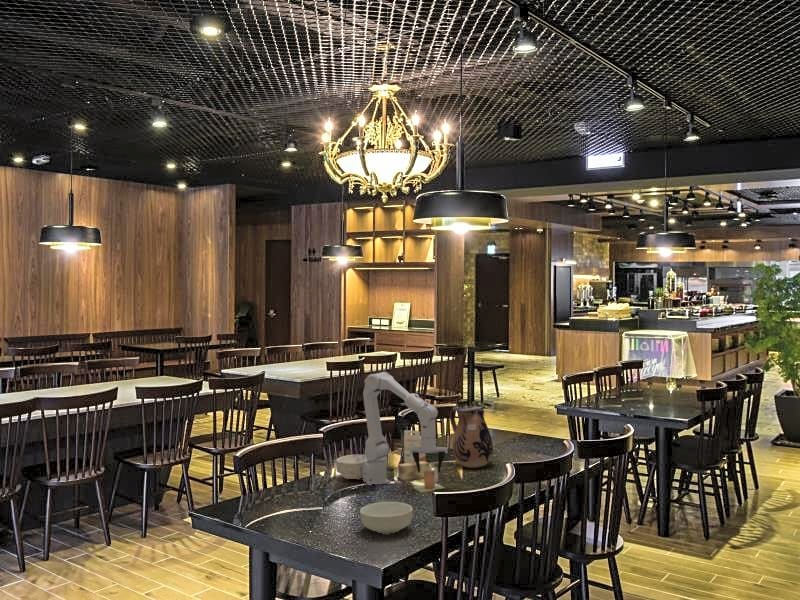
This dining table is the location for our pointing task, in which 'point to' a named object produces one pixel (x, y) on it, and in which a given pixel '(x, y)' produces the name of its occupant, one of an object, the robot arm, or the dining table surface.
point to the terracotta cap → (429, 479)
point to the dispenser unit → (412, 471)
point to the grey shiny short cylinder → (434, 472)
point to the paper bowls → (351, 466)
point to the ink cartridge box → (412, 446)
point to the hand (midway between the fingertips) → (429, 471)
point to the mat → (423, 489)
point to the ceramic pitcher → (471, 437)
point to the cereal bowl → (386, 516)
